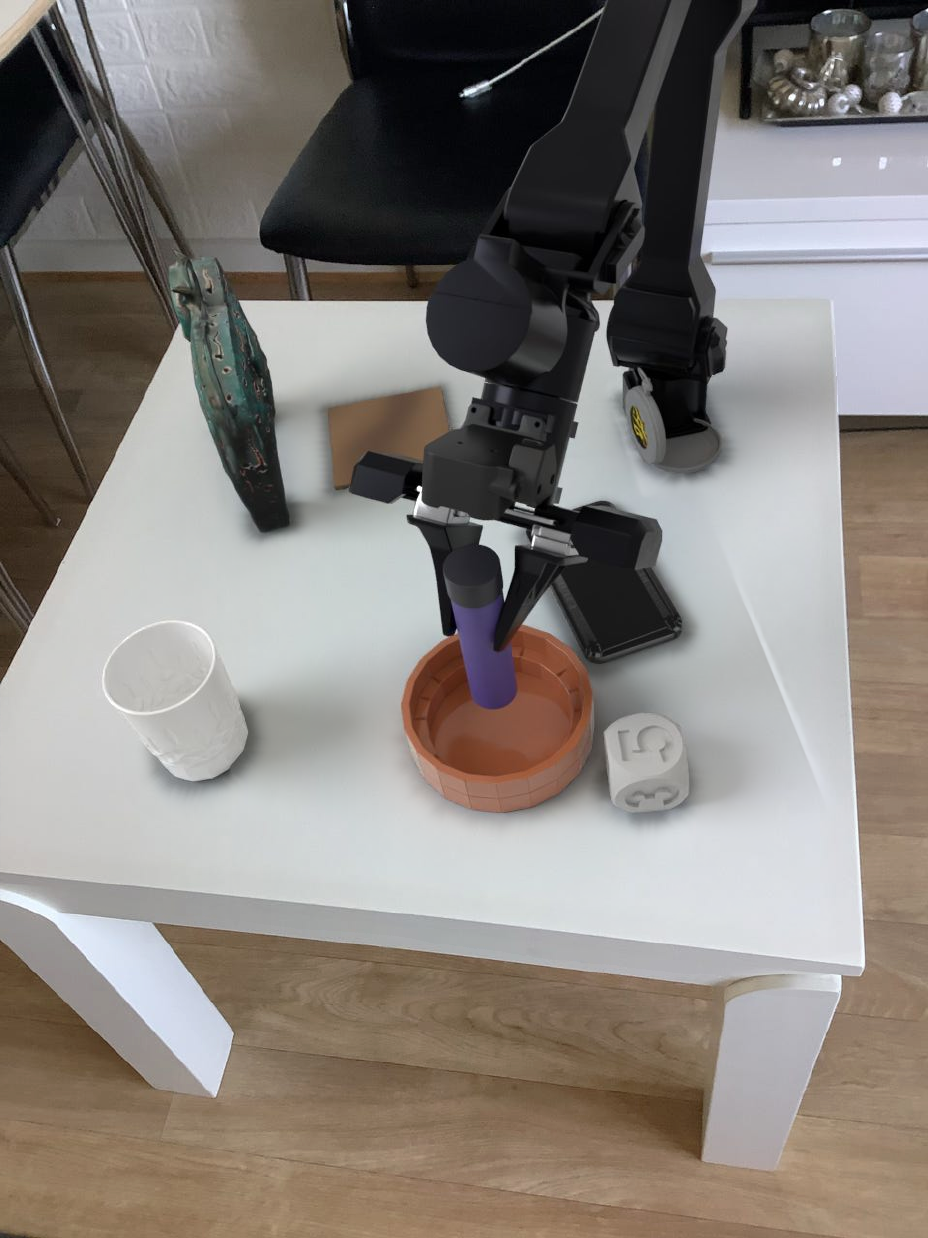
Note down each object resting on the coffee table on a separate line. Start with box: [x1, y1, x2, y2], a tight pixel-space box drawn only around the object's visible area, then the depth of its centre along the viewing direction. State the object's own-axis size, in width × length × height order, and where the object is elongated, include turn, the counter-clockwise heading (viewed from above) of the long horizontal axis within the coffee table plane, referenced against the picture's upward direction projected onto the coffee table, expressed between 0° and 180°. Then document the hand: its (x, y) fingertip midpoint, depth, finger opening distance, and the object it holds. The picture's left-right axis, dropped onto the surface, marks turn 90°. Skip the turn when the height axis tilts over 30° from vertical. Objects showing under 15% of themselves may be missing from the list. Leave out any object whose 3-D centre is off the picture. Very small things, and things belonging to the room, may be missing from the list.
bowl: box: [400, 624, 596, 813], centre depth 74 cm, size 13×13×4 cm
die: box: [603, 712, 690, 814], centre depth 70 cm, size 5×5×5 cm
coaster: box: [327, 386, 450, 490], centre depth 97 cm, size 11×11×1 cm
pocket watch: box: [625, 367, 723, 474], centre depth 88 cm, size 8×8×10 cm
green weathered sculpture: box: [168, 247, 291, 533], centre depth 90 cm, size 20×6×20 cm, turn 15°
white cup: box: [101, 619, 249, 782], centre depth 75 cm, size 8×8×10 cm
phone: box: [525, 500, 683, 665], centre depth 83 cm, size 8×1×15 cm
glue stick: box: [443, 543, 517, 709], centre depth 67 cm, size 3×3×13 cm
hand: (472, 643), depth 65 cm, fingers closed on glue stick, 3 cm apart
